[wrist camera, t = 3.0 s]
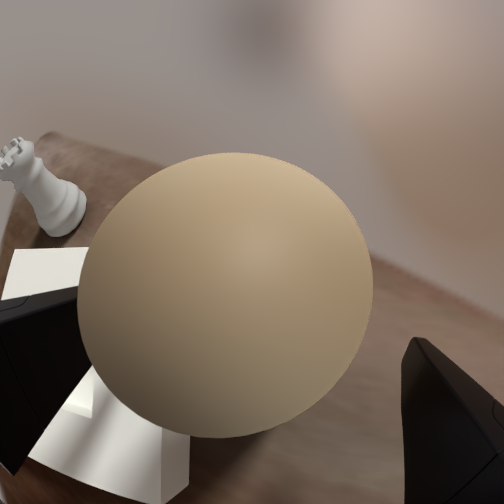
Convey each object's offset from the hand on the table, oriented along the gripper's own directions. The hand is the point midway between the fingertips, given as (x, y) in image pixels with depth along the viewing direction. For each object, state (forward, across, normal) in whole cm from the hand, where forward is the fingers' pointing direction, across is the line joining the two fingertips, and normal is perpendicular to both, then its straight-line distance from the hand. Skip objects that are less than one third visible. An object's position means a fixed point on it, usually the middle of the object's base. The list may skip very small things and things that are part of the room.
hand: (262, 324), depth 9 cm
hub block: (+2, +10, +8) cm, 13 cm away
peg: (+5, 0, +6) cm, 7 cm away
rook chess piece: (+9, +18, +1) cm, 20 cm away
